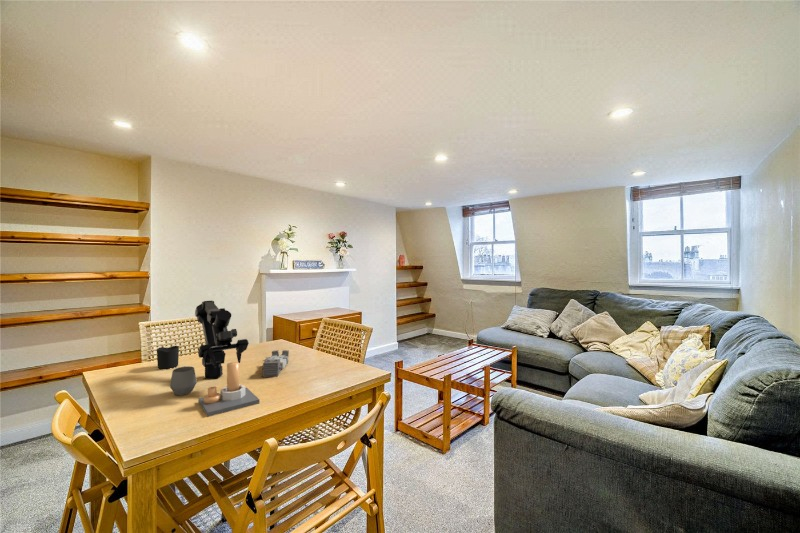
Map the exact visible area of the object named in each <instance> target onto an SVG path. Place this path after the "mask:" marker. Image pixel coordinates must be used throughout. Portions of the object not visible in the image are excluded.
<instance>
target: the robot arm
mask: <svg viewBox="0 0 800 533" xmlns="http://www.w3.org/2000/svg"><path fill="white" fill-rule="evenodd" d="M194 316H195V317H196V319H197V322H199V323H200V325H202V330H203V335H204V339H205V344H201V345H200V346H199V347H198V348H199V349H198V352H197V354H198V357H199V358H200V359H201V358H202V359H201V364H202V366H203V367H204V377H203V378H202V379H203V380H217V379H219V378H220V377H222V376H223V375H224V374H223V366H222V364H225V359H226V353H225V351H227V350H234V349H235V350H236V359H237V362H239V364H241V359H242V353H244V352H245V351H247V349H248V346H249V344H250V343H249V340H248V339H247V338H244V339H243V338H242V339H238V340H236V341H237V342H236V343H232V342H233V339H234V338H236V337H237V336H238V330H237V329H236V328H231V330H228V326H229V324H230V321H231V319H232V318H231V317H232V313H231V312H230V311H229V310H227V309H226V308H225V307H222V308H219V307H218V306H217V305H216V303H215V301H214V300H204V301H201V303H200V304H199V305H197V306H196V308H195V310H194Z"/></svg>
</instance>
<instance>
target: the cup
mask: <svg viewBox="0 0 800 533" xmlns="http://www.w3.org/2000/svg"><path fill="white" fill-rule="evenodd" d="M196 385H197V375H196V370H195V367H194V366H190V365H189V366H181V367H175V369H174V368H173V370H172V373H171V378H170V382H169V387H170V389H171V390H172V392H173V394H174V395H176V396H185V395H188V394H190V393H193V391H194V389H195V387H196Z"/></svg>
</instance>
